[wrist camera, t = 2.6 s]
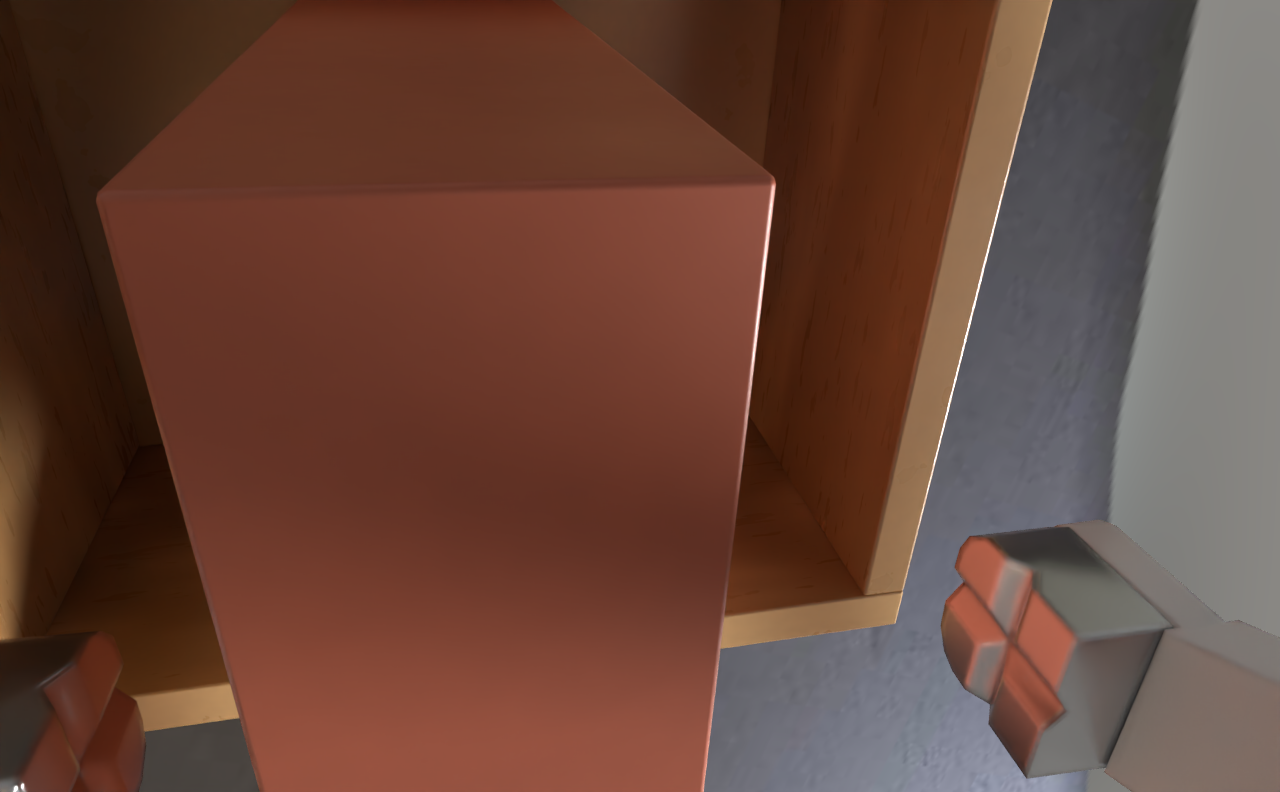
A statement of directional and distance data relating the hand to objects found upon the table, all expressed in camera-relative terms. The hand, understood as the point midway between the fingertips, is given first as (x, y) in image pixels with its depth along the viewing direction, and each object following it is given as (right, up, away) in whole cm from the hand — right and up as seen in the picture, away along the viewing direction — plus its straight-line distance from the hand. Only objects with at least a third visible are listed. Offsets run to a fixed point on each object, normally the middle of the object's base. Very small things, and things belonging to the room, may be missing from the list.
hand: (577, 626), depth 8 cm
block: (-4, +7, +11) cm, 13 cm away
